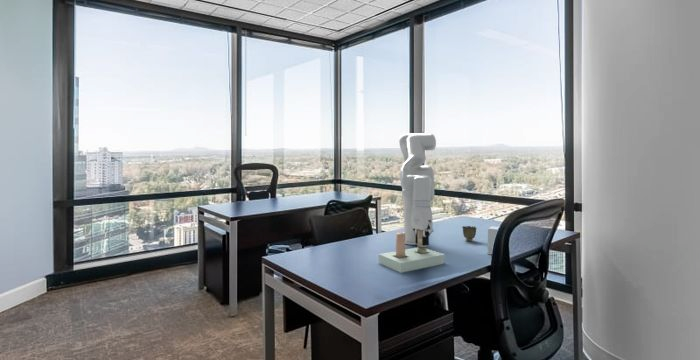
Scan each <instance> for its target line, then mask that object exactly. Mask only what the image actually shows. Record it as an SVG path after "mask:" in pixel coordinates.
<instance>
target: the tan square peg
mask: <svg viewBox="0 0 700 360" xmlns="http://www.w3.org/2000/svg"><path fill="white" fill-rule="evenodd" d="M405 249H406V244H405V233H403V232H396V233H395V251H396V258H399V259H401V258H405Z"/></svg>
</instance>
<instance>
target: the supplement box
mask: <svg viewBox="0 0 700 360" xmlns="http://www.w3.org/2000/svg"><path fill="white" fill-rule="evenodd" d="M499 227H500V226H493V225H492V226H490V227H489V228H487V254H488V255H491V253H492V247H493V242H494V239H495V236H496V234H497V231H498V228H499Z"/></svg>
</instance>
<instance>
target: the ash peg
mask: <svg viewBox="0 0 700 360" xmlns="http://www.w3.org/2000/svg"><path fill="white" fill-rule="evenodd" d="M425 232H427V231H425ZM422 237H424V236H423V230H419V229H418V245H417V247H418V254H421V255H422V254H426V253H427V249H428V248H427V246H428V245H426V246H423V245H422Z"/></svg>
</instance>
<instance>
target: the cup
mask: <svg viewBox="0 0 700 360" xmlns="http://www.w3.org/2000/svg"><path fill="white" fill-rule="evenodd" d="M476 233H477V227H476V226H473V225H472V226H471V225H463V226H462V234H463V237H464V238H465V241H466V242H470V243H471V242H473V240H474V238H475V237H476V235H477V234H476Z"/></svg>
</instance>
